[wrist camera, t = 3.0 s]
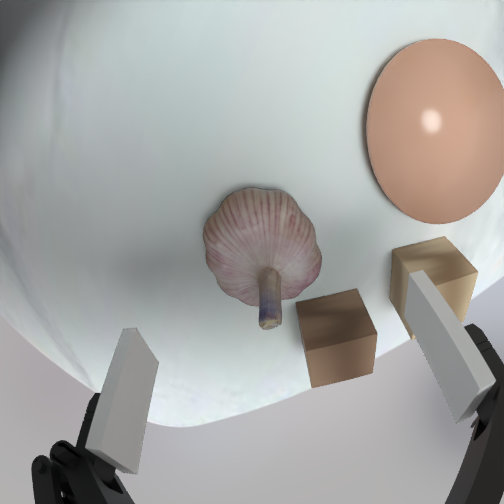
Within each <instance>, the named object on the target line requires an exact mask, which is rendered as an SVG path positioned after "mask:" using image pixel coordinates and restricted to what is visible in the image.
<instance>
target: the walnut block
mask: <svg viewBox="0 0 504 504" xmlns="http://www.w3.org/2000/svg"><path fill="white" fill-rule="evenodd" d="M296 308H297V314H298V320H299V325H300V331H301V337H302V342H303V347H304V352H305V357H306V362H307V367H308V372H309V377H310V382H311V387H312V388H315V387H319V386H324V385H328V384H332V383H337V382H341V381H345V380H349V379H353V378H357V377H360V376H364V375H367V374H371V373H373V366H374V359H375V351H376V342H377V331H376V329H375V327H374V325H373V322H372V320H371V318H370V316H369V314H368V311H367V309H366V307H365V305H364V303H363V301H362V298H361V296H360V294H359V292H358V290H357V289H353V290H349V291H344V292H340V293H336V294H332V295H327V296H323V297H319V298H314V299H310V300H305V301H300V302H296Z"/></svg>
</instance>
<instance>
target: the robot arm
mask: <svg viewBox="0 0 504 504" xmlns="http://www.w3.org/2000/svg"><path fill="white" fill-rule="evenodd" d="M404 317H405V319H406V321H407V323H408V324H409V326H410V328H411V330H412V332H413V334H414V336H415V338H416V339H417V341H418V343H419V345H420V347H421V349H422V351H423V353H424V355H425V357H426V359H427V361H428V363H429V365H430V367H431V369H432V371H433V373H434V375H435V377H436V380H437V382H438V384H439V386H440V388H441V390H442V392H443V395H444V397H445V399H446V402H447V404H448V406H449V408H450V411H451V413H452V415H453V418H454V420H455V422H456V424H457V423H459V422H461V421H463V420H465V419H467V418H469V417H471V416H472V415H473V413H474V412H475V411H477V413H478V417H477V418H476V419H475V421H474V422H473V423H472V425H471V428H473V427H474V425H475V427H474V430H473V433H472V437H471V440H470V443H469V446H468V449H467V452H466V454H465V457H464V460H463V463H462V465H461V468H460V471H459V473H458V475H457V478H456V480H455V482H454V485H453V487H452V489H451V491H450V494H449V496H448V498H447V500H446V502H445V504H499V503H500V500H501V498H502V495H503V492H504V364H503V362H502V361H501V359H500V358H499V356H498V355H497V353H496V351H495V350H494V349H493V348H492V345H491V343H490V342H489V341H488V339H487V337H486V336H485V334H484V333H483V331H482V330H481V329H480V328H478V327H477V326H476V325H474V324H470V325H467V326H465V327H463V325H462V324H461V322H460V321H459V319H458V318H457V316H456V315H455V313H454V312H453V310H452V309H451V307H450V306H449V305H448V303H447V302H446V300H445V299H444V298H443V296H442V295H441V293H440V292H439V291H438V289H437V288H436V287H435V285H434V284H433V283H432V281H431V280H430V279H429V277H428V276H427V275H426V273H425V272H424V271H423V270H420V271H417V272H413V273H409V280H408V289H407V297H406V305H405V312H404ZM158 364H159V362H158V360H157V359H156V357H155V356H154V355H153V353H152V352H151V350H150V349H149V347H148V346H147V344H146V342H145V341H144V339H143V338H142V336H141V335H140V333H139V332H138V330H137V328H128V329H123V331H122V334H121V336H120V339H119V342H118V345H117V347H116V350H115V353H114V356H113V358H112V361H111V364H110V367H109V370H108V373H107V376H106V379H105V382H104V385H103V388H102V391H101V393H95V394H94V396H93V397H92V398H91V400H90V401H89V404H88V407H87V410H86V412H87V413H86V414H85V417H84V421H83V423H82V427H81V430H80V434H79V437H78V440H77V444H76V447H74V446H73V445H71V444H70V443H69V442H67V441H64V440H61V441H58V442H56V443H55V444H54V445H53V446H52V448H51V451H50V459H49V458H47V457H46V456H44V455H39V456H38V457H36V458H35V459H34V461H33V463H32V469H31V470H32V482H33V491H34V499H35V504H135V503H134V502H133V500H132V499H131V497H130V495H129V494H128V492H127V491H126V489H125V487H124V486H123V484H122V482H121V481H120V479H119V477H118V476H117V475H116V473H115V469H118V470H119V471H121V472H123V473H129V474H138V468H139V461H140V456H141V450H142V444H143V438H144V433H145V427H146V422H147V417H148V412H149V407H150V402H151V397H152V392H153V387H154V382H155V378H156V373H157V369H158ZM61 492H62V494H63V497H62V495H61Z"/></svg>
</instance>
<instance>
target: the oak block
mask: <svg viewBox="0 0 504 504" xmlns="http://www.w3.org/2000/svg"><path fill="white" fill-rule="evenodd" d="M420 270H423V271H424V272H425V273H426V275H427V276H428V277H429V279H430V280H431V281H432V283H433V284H434V285H435V287H436V288H437V289H438V291H439V292H440V293H441V295H442V296H443V298H444V299H445V300H446V302H447V303H448V305H449V306H450V307H451V309H452V310H453V312H454V313H455V315H456V316H457V318H458V319H459V321H460V322H463V321H464V318H465V316H466V312H467V309H468V306H469V303H470V300H471V296H472V293H473V290H474V286H475V282H476V279H477V275H478V271H477V270H476V269H475V268H474V266H473V265H472V264H471V263H470V262H469V261H468V260H467V259H466V258H465V257H464V256H463V254H462V253H461V252H460V251H459V250H458V249H457V248H456V247H455V246H454V245H453V244H452V243H451V242H450V241H449V240H448V239H447V238H446V237H445V236H443V237H439V238H435V239H431V240H427V241H423V242H419V243H415V244H411V245H407V246H403V247H399V248H395V249H392V269H391V284H390V297H389V298H390V300H391V302H392V304H393V306H394V307H395V309H396V311H397V313H398V315H399V317H400V318H401V320H402V322H403V324H404V326H405V328H406V330H407V332H408V334H409V336H410V338H411V340H413V339H416V338H415V336H414V334H413V332H412V330H411V328H410V326H409V324H408V323H407V321H406V319H405V317H404V312H405V305H406V297H407V289H408V280H409V273H413V272H417V271H420Z"/></svg>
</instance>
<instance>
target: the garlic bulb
mask: <svg viewBox="0 0 504 504" xmlns="http://www.w3.org/2000/svg"><path fill="white" fill-rule="evenodd" d="M203 239H204V242H205V247H206V263H207V265H208V267H209V269H210V270H211V271H212V272H213V273H214V275H215V277H216V279H217V282H218V284H219V286H220V288H221V289H222V290H223V291H224V292H225V293H226V294H228V295H229V296H232V297H235V298H237V299H239V300H241V301H242V302H243V303H245V304H247V305H251V306H259V325H260V327H261V328H262V329H265V330H267V329H272V328H275V327H277V326H278V325H281V323H282V308H281V300H284V299H292V298H294V297H296V296H298V295H299V294H300V293H301V292H302V291H303V290H304V289H305V288H306V287H308V286H309V285H311V284H312V283H313V282H314V281H315V279H316V278H317V277H318V275H319V272H320V269H321V263H322V256H321V252H320V249H319V247H318V245H317V243H316V234H315V229H314V226H313V224H312V222H311V221H310V219H309V218H308V217H307V216H306V215H305V214H304V213H303V212H302V211H301V210H300V208H299V207H298V205H297V203H296V201H295V200H294V199H293V198H292V197H291V196H290V195H289V194H287V193H285V192H283V191H281V190H262V189H259V188H245V189H243V190H240V191H237V192H235V193H232V194H231V195H229V196H228V197H227V198H226V199H225V200H224V201H223V202H222V204H221V206H220V208H219V209H218V211H217V212H216V213H214V214H213V215H212V216H211V217H210V218H209V219H208V220H207V222H206V224H205V226H204V230H203Z"/></svg>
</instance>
